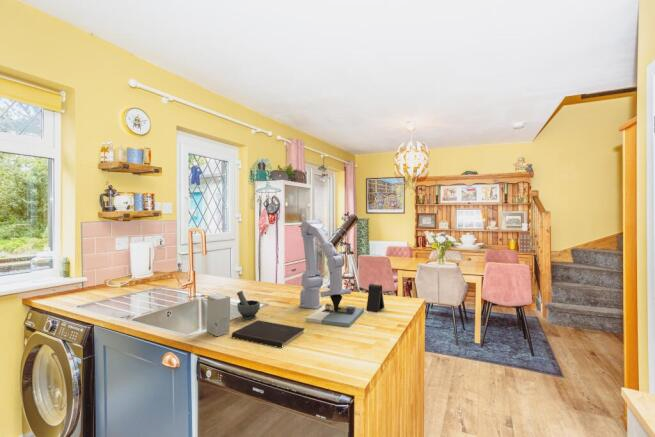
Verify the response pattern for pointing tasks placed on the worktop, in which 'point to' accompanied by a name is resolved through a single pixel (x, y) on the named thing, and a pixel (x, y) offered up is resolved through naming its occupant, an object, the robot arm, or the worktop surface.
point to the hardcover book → (268, 333)
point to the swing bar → (340, 308)
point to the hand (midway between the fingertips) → (336, 311)
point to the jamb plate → (319, 315)
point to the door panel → (343, 317)
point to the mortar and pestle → (247, 307)
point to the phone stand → (375, 298)
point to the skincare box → (218, 314)
